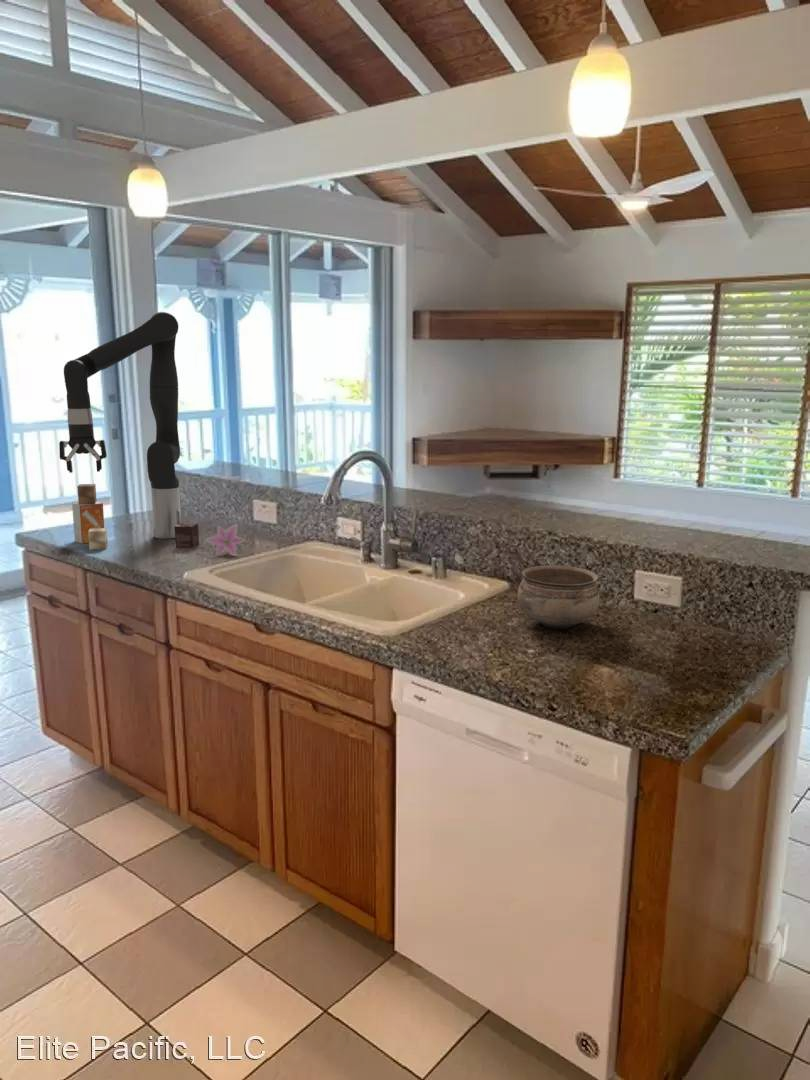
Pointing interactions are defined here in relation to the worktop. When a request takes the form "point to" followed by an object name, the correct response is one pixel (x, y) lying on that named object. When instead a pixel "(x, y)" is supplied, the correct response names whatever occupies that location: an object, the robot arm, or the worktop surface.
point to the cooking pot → (558, 595)
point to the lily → (226, 540)
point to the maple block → (97, 538)
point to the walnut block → (86, 493)
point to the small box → (86, 520)
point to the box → (186, 535)
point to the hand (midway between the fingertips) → (84, 471)
